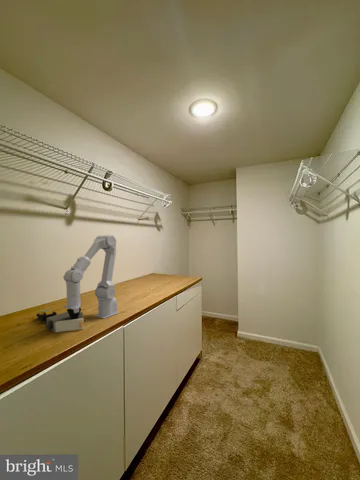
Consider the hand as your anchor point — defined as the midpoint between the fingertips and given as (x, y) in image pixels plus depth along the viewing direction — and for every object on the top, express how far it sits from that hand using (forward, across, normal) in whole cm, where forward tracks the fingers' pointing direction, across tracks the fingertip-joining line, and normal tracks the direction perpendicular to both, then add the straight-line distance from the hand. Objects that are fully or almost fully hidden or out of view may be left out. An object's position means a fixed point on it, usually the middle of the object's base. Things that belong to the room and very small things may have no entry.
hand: (74, 324), depth 94 cm
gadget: (+2, -21, -10) cm, 23 cm away
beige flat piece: (+1, +3, -3) cm, 4 cm away
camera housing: (+2, -6, -3) cm, 7 cm away
